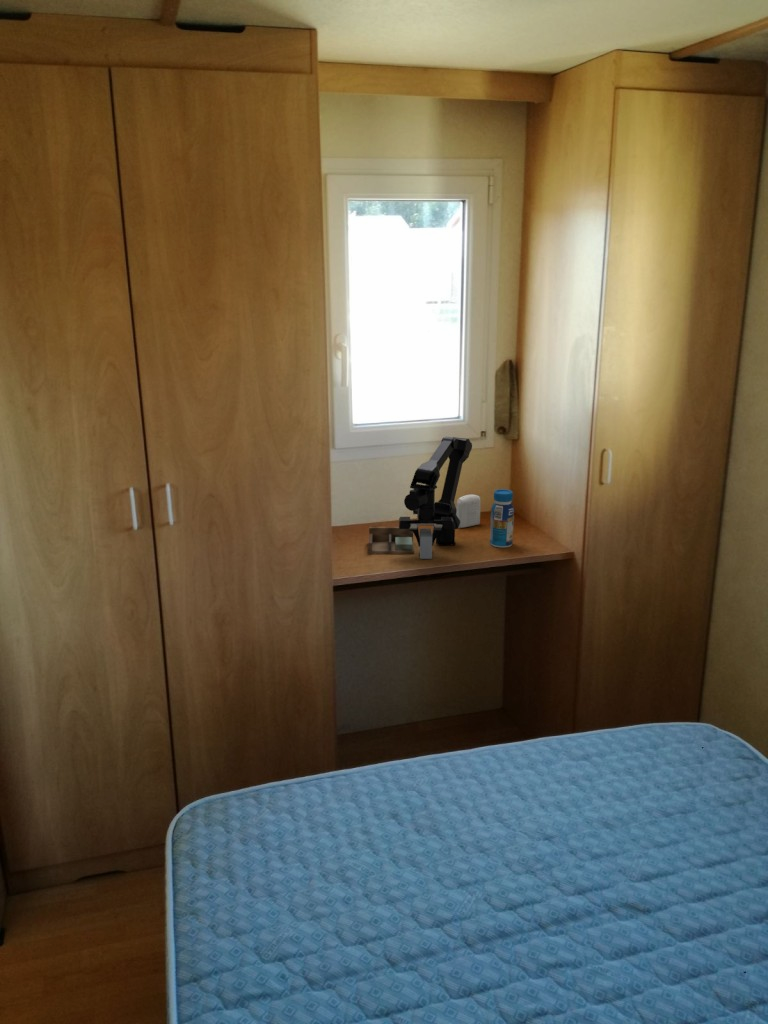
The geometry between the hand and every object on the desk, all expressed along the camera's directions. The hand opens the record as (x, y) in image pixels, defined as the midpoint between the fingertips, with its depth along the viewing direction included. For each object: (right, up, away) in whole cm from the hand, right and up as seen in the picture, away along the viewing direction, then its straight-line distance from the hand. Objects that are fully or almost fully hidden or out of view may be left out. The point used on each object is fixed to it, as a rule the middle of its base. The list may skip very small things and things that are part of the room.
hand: (425, 546), depth 274 cm
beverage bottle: (+28, 0, +11) cm, 30 cm away
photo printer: (+18, +7, +32) cm, 38 cm away
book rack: (-12, -1, +8) cm, 14 cm away
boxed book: (0, -3, +1) cm, 3 cm away
